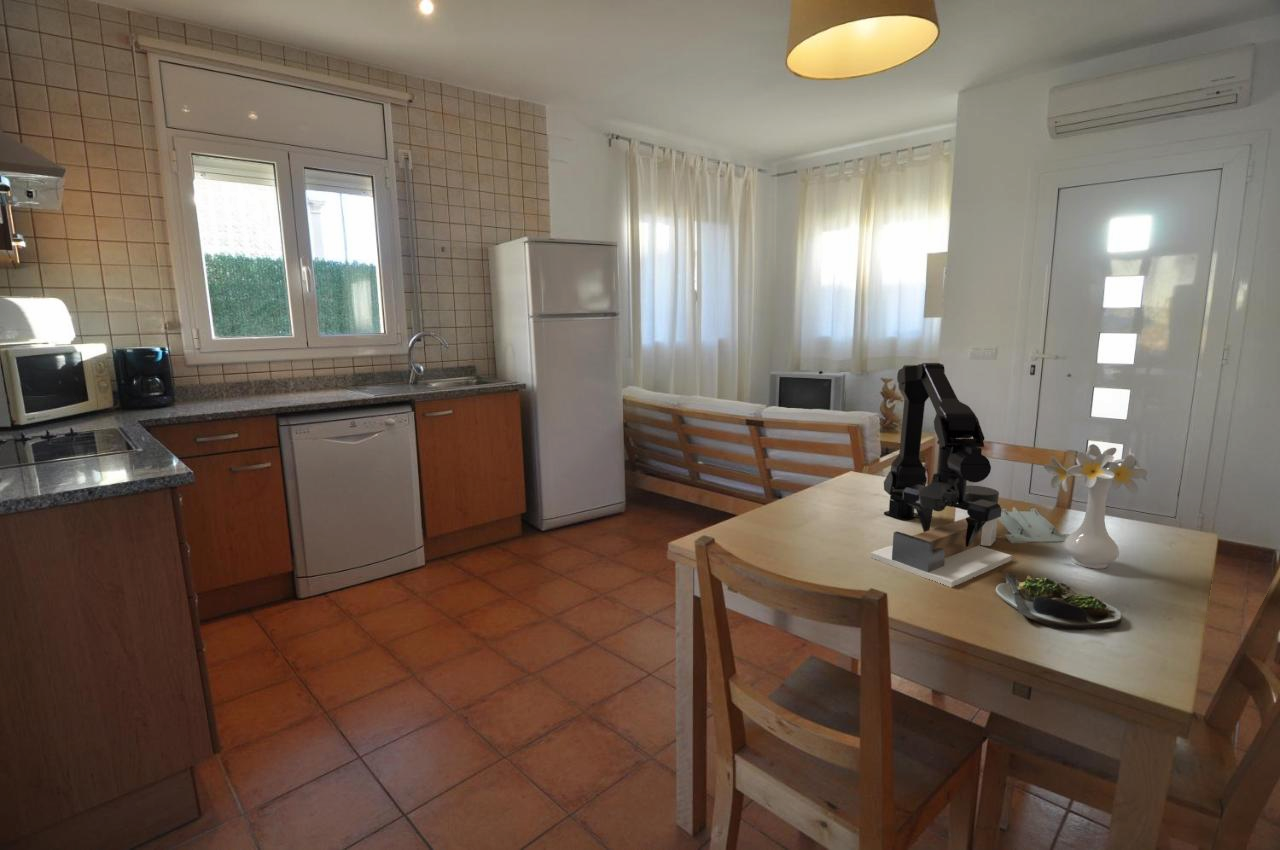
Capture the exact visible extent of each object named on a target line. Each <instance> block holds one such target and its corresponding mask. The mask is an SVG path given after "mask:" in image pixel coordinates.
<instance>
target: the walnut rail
mask: <svg viewBox="0 0 1280 850" xmlns="http://www.w3.org/2000/svg"><path fill="white" fill-rule="evenodd" d="M967 526H968V523H967V521H966V519H965V518H964V519H961V520H958V521H955V520H954V521H953V522H950V523H947V524H945V525H941V526H938V527H935V528H933V529H931V528H930V530H928V531H925V532H924V531H922V532H920V533H917V534H914V535H913V536H914V537H917V538H920V539H923V540H926V541H929V542H933V550H936V549H938V548H942V549H945V558H947V557H950V556H953V555H955V554H958V553H960V552H963V551H965V550H968V549H971V548H973V547H976V546H978V545H979V546H980V545H981V535H982V528H981V529H980V531H979V532H978V534H977V536H976V537H975V539H974V540H973V542H972V544H971V545H970V546H969V547H966V533H967Z"/></svg>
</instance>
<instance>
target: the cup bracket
mask: <svg viewBox="0 0 1280 850" xmlns="http://www.w3.org/2000/svg"><path fill="white" fill-rule="evenodd" d="M892 537H893V538H892V545H893V549H892V560H894V561H897V562H900V563H902V564H905V565H908V566H911V567H913V568H916V569H919V570H922V571H924V572H927V573H928V572H931V571H933V570H935V569H938V568H940V567H943V566H944V561H945V549H942V548H938V549H936V550H933V542H929V541H926V540H923V539H920V538H917V537H914V535H910V534H906V533H903V532H901V531H894V532H893V536H892Z"/></svg>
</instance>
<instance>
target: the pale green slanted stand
mask: <svg viewBox="0 0 1280 850" xmlns="http://www.w3.org/2000/svg"><path fill="white" fill-rule="evenodd" d="M1001 509H1002V510H1001V517H998V520H997V521H999V522H1000V523H1001V525H1002V526H1003V527H1004V528H1005V529H1006V530H1007V531H1008V532H1009V534H1007V533H1006V534H1004V537H1005V538H1006V540H1007V541H1008V542H1009V543H1010V542H1011V544H1027V542H1043V543H1062V542H1064V541H1065V539H1066V538H1067V537H1068V536H1069V535H1070V534H1071V533H1070V534H1069V533H1059V532H1058V531H1057V530H1056V528H1055V526H1054V525H1053V524H1052V523H1051V522H1050V521H1049V520H1048V519H1047V518H1045V517H1043V516H1042V515H1041V514H1040V513H1039V511H1038V510H1037V508H1031V509H1030V511H1020V510H1019V511H1018V510H1017V508H1016V507H1015V506H1013V507H1012V510H1011V511H1007V508H1001Z"/></svg>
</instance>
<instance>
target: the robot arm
mask: <svg viewBox="0 0 1280 850" xmlns="http://www.w3.org/2000/svg"><path fill="white" fill-rule="evenodd" d="M896 378H897V379H896V380H897V383H898V390H899V392H900V394H901V395H902V397H903V399H904V400H903V401H904V403H903V409H902V410H903V411H902V421H901V430H900V431H901V432H900V443H899V444H900V445H899V452H898V453H899V454H898V455H897V456H896V458H895V459H894V460H893V461H892V463H891V465H890V471H888V473H887V475H886V477H885V479H884V481H883V491H885V492H886V494H888V495H889V496H890V497H889V505H888V510H886V511H884V512H883V515H886V516H889V517H892V518H896V519H899V520H903V521H909V520H911V519H914V518H917V517H918V518H919V521H920V523H921V528H922V532H925V531H928V530H931V524H932V519H933V511H934V512H942V511H944V510H945V508H947V507H950V508H955V509H956V508H959V509H963V510H967V513H968V515H969V516H970V517H967V518H966V521H967V523H968V526H967V533H966V547H969V546H970V545H971V544H972V542H973V540H974V539H975V537H976V536H977V534H978V532H979V531H980V529H981V528H982V526H983V525H984V524H985V523H986V522H987V521H990V520H993V519H996V518H998V517H1001V510H1002V509H1003V508H1002V507H1001V505H1000V503H999V504H998V503H995V502H991V501H986V500H982V499H981V500H978V501H975V502H969V501H965V499H967V498H969V493H966V486H968V485H967V482H969V483H970V482H971V483H979V482H982V481H984V480H985V479H987V477H989V475H990V473H991V470H992V465H991V463H990V460H989V458H988V457H986V456H985V455H984V454H982V452H983V451H982V448H984V447H985V443H984V440H985V436H984V433H983V431H982V426H981V425H980V421H979V418H978V417H977V415H976V413H975V412H974V410H972V409H971V407H970V406H969V405H968V404H965V403H963V402H961V401H960V399H958V397H957V394H956V393H955V391H954V388H953V386H952V385H951V383H950V381H949V379H948V377H947V375H946V373H945V366H944V364H943V363H940V362H923V363H919V364H917V365H916V364H910V365H909V364H908V365H907V364H905V365H903V367H902V368H900V369H899V370H898V371H897V376H896ZM928 399H929V400H930V402H931V404H932V407H933V408H934V411H935V417H934V419H933V428H934V432H935V434H936V437H937V441H936V443H937V445H939V446H938V455H937V456H938V458H937V470H936V472H935V473H933V476H932V480H931V483H930V484H929V483H928V484H927V479H928V478H927V475H926V472H927V469H926V467H925V466H924V464H923V463H922V461H921V459H920V455H921V453H920V452H921V444H922V443H921V442H922V435H923V426H924V425H923V424H924V416H925V405H926V401H927V400H928ZM957 503H958V504H957ZM915 511H916V512H915Z"/></svg>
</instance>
